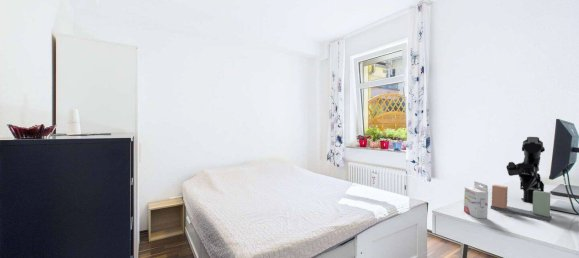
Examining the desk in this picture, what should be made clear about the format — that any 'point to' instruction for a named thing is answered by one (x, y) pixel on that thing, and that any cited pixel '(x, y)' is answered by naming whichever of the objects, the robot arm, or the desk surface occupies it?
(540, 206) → the pale green block
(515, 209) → the grey flat slab
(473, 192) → the ink cartridge box
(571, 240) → the desk surface
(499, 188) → the peach button block
